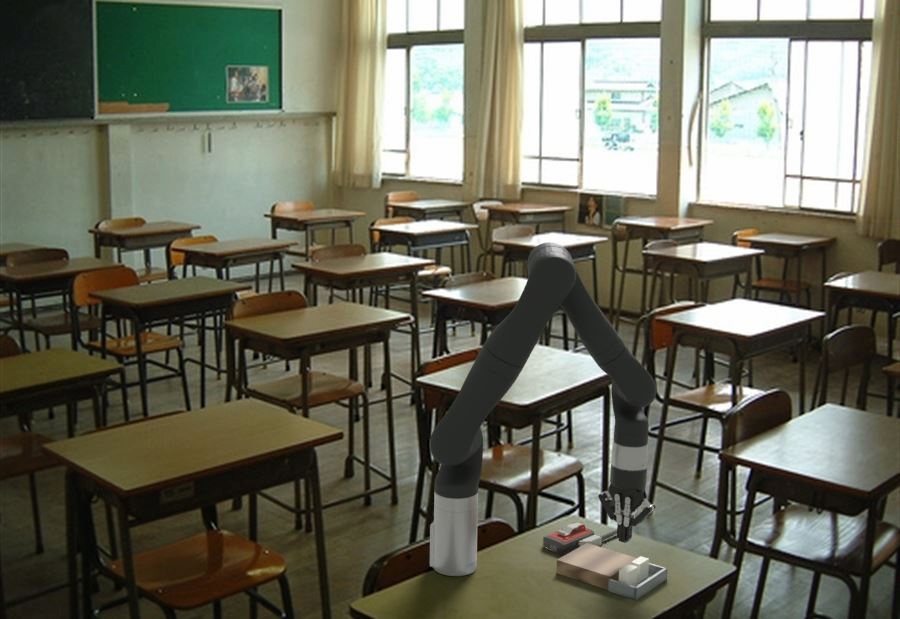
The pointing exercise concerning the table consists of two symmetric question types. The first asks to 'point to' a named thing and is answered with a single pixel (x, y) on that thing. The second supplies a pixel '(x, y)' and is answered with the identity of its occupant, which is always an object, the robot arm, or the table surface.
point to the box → (640, 583)
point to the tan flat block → (593, 565)
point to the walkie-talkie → (573, 538)
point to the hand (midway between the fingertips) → (624, 540)
